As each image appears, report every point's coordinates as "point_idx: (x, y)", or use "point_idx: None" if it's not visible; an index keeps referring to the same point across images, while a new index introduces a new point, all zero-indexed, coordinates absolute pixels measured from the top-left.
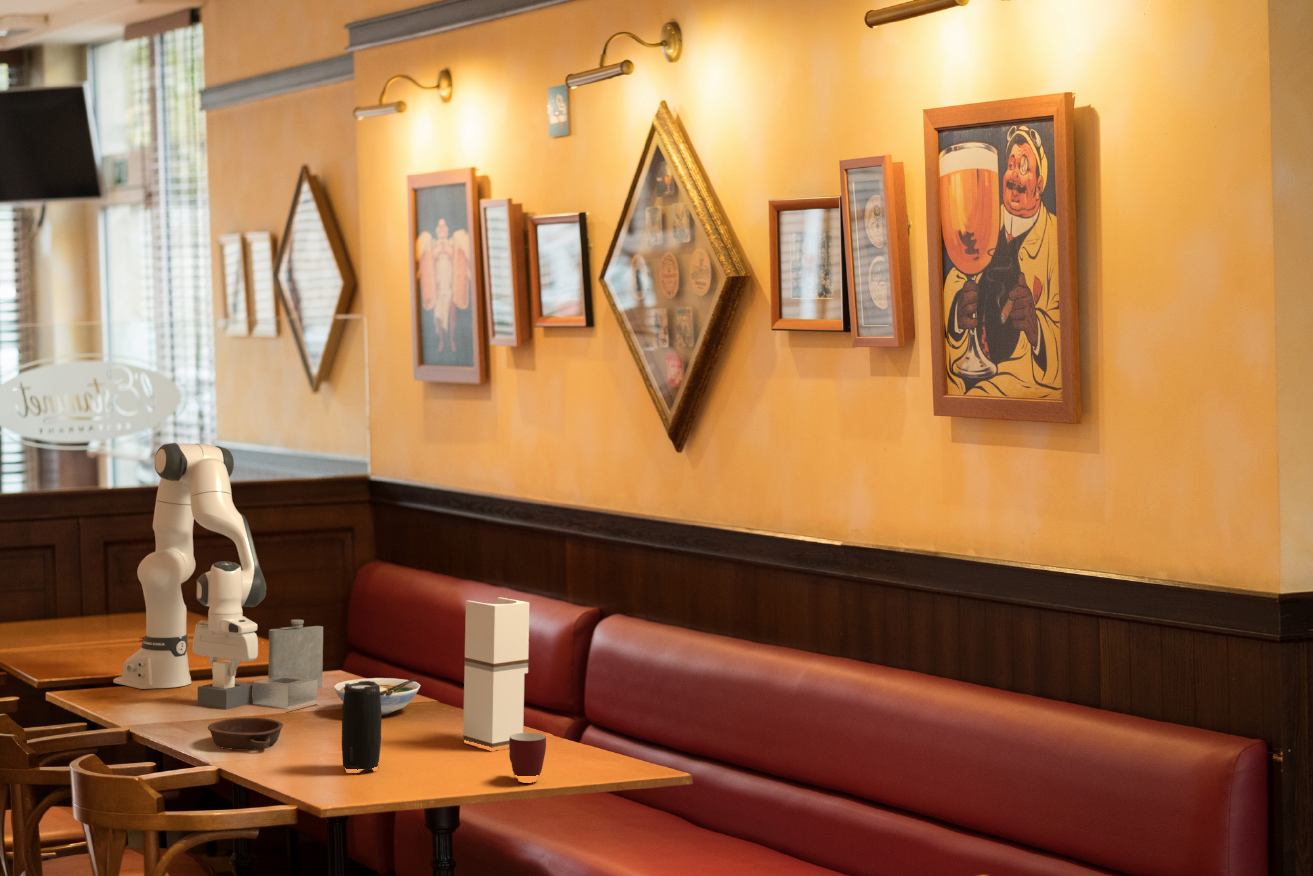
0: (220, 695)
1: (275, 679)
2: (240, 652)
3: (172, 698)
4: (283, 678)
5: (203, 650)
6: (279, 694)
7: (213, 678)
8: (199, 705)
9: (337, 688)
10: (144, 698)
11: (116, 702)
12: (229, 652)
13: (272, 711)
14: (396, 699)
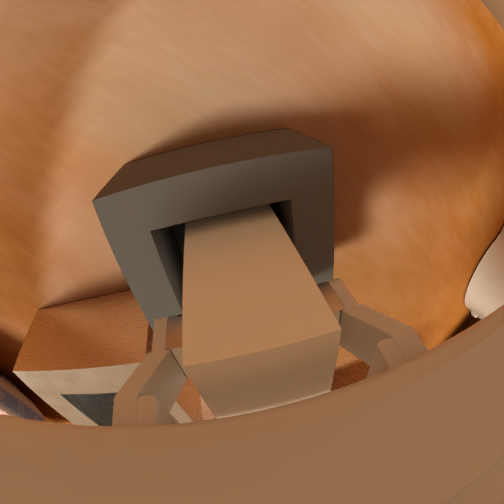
0: (142, 175)
1: None
2: (19, 479)
3: (449, 197)
4: None
5: (495, 358)
6: (43, 345)
7: (285, 243)
8: (281, 131)
9: (3, 405)
10: (487, 156)
11: (499, 87)
12: (132, 491)
13: (71, 295)
14: None
